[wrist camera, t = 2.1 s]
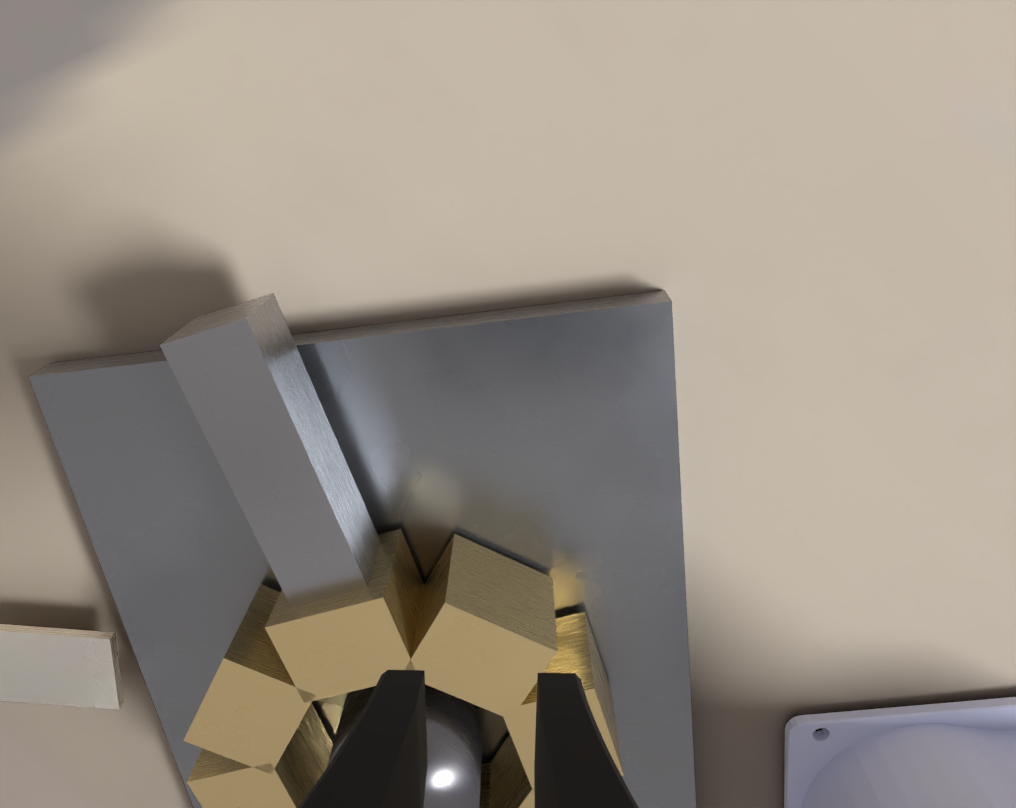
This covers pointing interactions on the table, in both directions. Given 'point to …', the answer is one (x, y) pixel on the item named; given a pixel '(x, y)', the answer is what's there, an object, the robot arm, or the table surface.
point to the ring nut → (349, 590)
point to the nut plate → (399, 515)
